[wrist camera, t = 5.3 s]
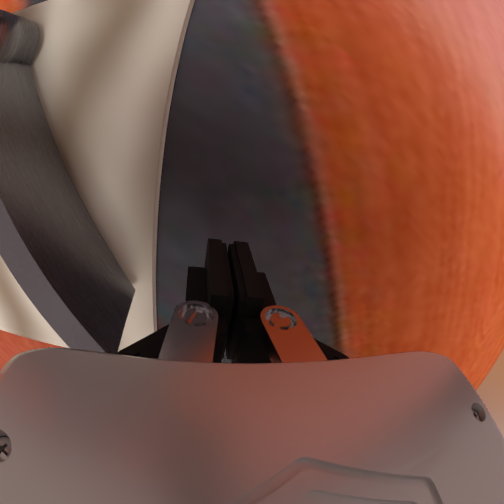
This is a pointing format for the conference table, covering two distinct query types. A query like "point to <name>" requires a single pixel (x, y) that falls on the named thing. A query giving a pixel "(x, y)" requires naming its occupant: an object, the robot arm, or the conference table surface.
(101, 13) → the dial plate
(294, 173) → the conference table surface
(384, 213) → the conference table surface
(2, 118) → the pointer lever
